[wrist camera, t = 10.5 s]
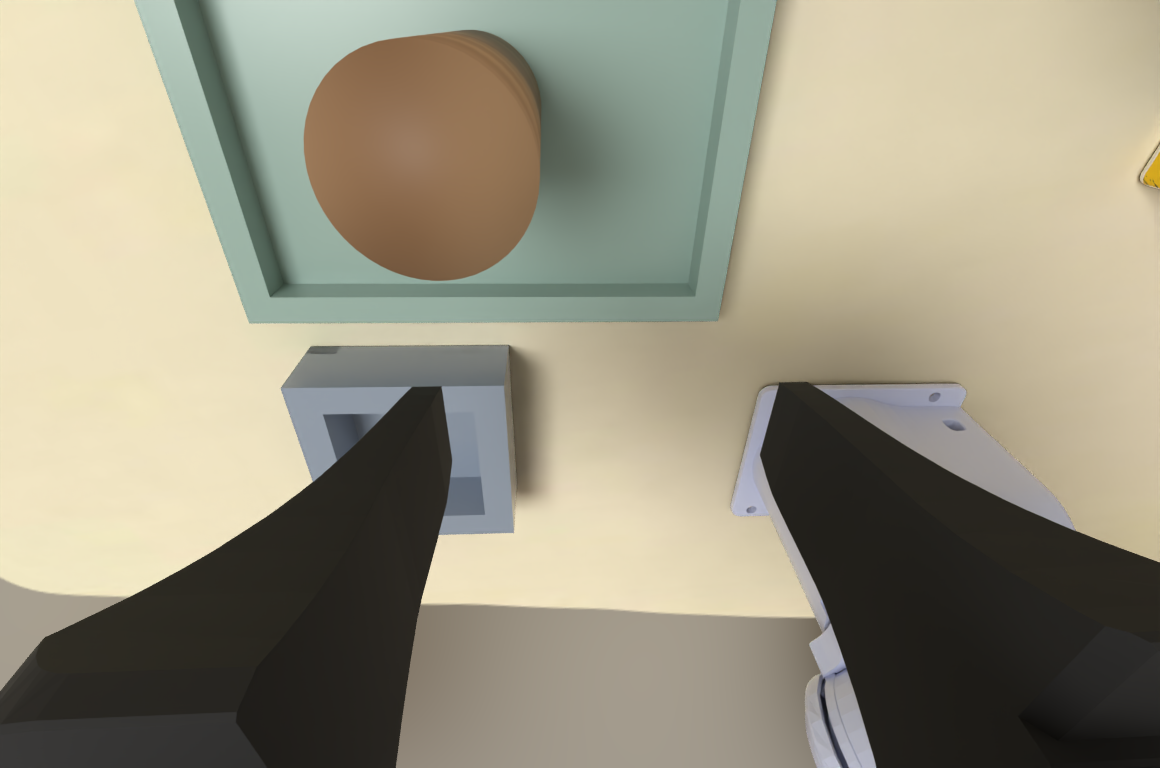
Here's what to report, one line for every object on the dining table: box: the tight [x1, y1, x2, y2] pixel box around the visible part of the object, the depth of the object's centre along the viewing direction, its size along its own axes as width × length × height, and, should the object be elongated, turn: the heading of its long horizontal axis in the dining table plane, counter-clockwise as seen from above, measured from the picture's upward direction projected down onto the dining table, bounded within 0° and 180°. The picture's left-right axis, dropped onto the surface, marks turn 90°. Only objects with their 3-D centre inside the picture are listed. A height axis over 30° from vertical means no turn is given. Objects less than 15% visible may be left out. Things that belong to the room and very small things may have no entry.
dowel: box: [304, 30, 541, 281], centre depth 13 cm, size 4×4×9 cm
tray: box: [134, 0, 777, 323], centre depth 17 cm, size 17×14×2 cm
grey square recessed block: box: [281, 345, 517, 535], centre depth 23 cm, size 8×8×3 cm
